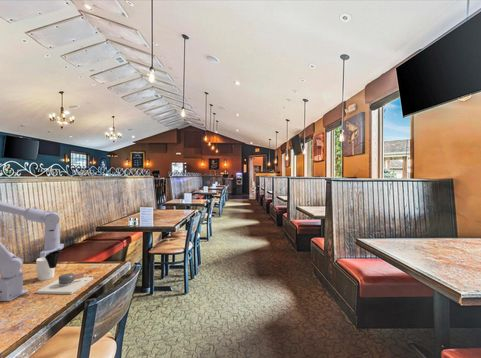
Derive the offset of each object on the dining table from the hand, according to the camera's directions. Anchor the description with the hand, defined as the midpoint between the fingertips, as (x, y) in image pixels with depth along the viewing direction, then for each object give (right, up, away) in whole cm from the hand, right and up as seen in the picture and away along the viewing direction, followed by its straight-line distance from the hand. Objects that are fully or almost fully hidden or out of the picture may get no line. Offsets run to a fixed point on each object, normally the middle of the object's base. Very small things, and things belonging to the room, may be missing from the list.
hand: (52, 267), depth 121 cm
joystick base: (+5, -9, +2) cm, 11 cm away
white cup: (-12, -9, +12) cm, 19 cm away
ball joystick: (+6, -7, +3) cm, 10 cm away
